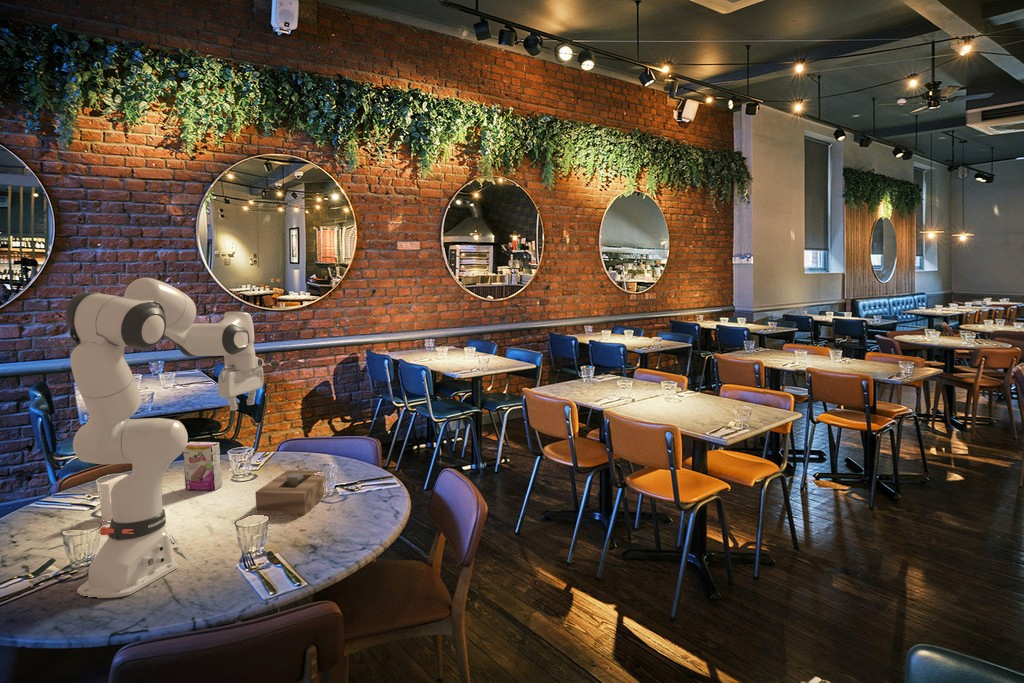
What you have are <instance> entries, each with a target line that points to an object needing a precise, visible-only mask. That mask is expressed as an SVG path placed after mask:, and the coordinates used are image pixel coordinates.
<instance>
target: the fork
mask: <svg viewBox="0 0 1024 683" xmlns="http://www.w3.org/2000/svg"><path fill="white" fill-rule="evenodd" d="M169 537H170V542H171V544H173V543H176V542H178V540H176V538H175V537H174V536H173V534H170V535H169ZM174 548H175V549H177V550H179V551H180V553H181V554H182V555H183V557H184V559H185V560H186V561H187V562H188V561H189V562H188V563H190V564H195V563H196V562H197V561H196V560H195V561H194V559H195V558H193V557H192V556H191V555H190V554H188V553H187V552H186V551H185V550H184V549H183V548H182V547H181V546H180V547H178V546H175V547H174ZM194 562H195V563H194Z"/></svg>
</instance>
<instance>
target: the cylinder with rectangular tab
mask: <svg viewBox="0 0 1024 683" xmlns="http://www.w3.org/2000/svg"><path fill="white" fill-rule="evenodd" d="M128 475H129V474H121V475H119V476H116V477H114V478H110V479H109V480H105V481H104V482H101V483H100V495H101V496H100V497H101V499H100V501H99V503H100V515H101V521H102V520H104V521H111V519H112V518H113V517H112V506H111V495H110V494H111V490H112V488H113V486H114V485H115V484H116V483H117V482H118V481H119V480H121V479H123V478H124V477H126V476H128ZM104 521H103V522H104Z"/></svg>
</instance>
